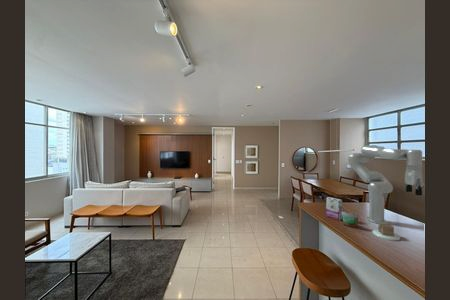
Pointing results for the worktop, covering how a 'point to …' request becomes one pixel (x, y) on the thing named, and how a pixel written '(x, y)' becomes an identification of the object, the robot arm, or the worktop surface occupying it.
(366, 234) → the worktop surface
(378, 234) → the dish
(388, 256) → the worktop surface
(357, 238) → the worktop surface
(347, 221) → the food container
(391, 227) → the walnut block
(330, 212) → the candy bar box
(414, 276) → the worktop surface
